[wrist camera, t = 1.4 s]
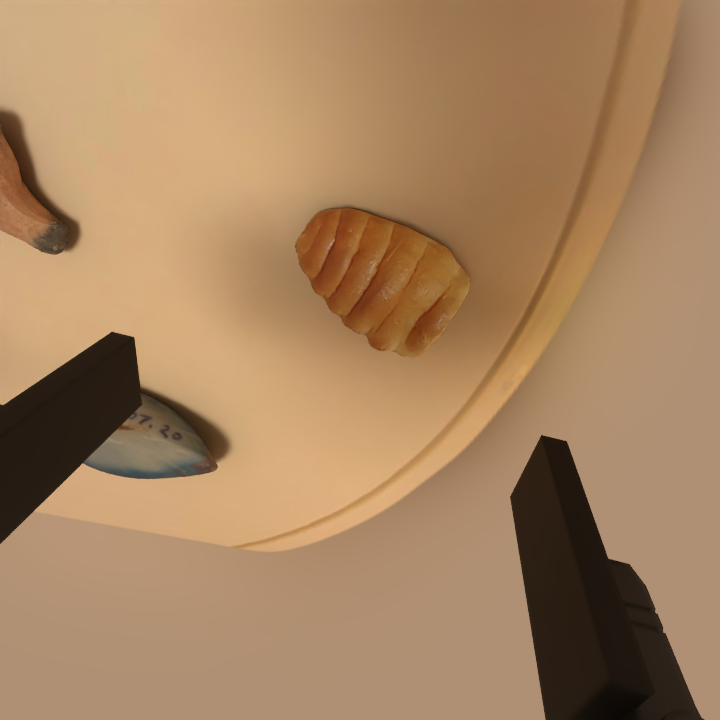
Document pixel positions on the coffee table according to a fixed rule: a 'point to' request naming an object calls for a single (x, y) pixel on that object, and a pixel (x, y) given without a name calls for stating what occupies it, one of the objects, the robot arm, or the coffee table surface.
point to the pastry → (382, 278)
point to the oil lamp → (26, 209)
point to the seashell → (153, 446)
